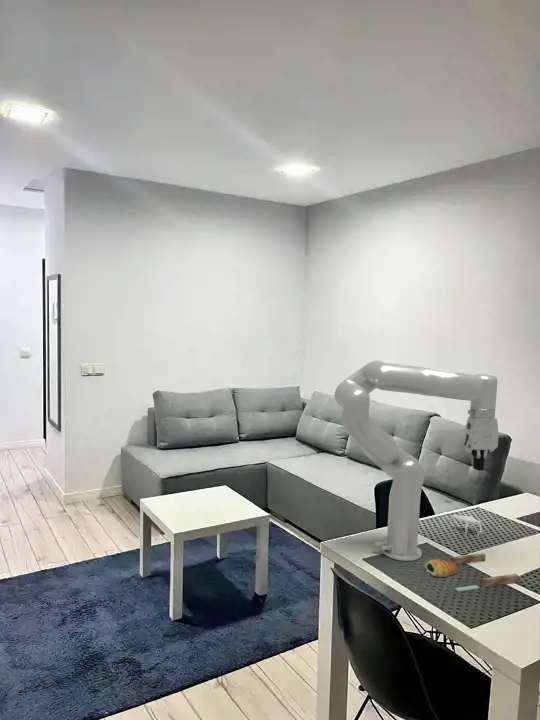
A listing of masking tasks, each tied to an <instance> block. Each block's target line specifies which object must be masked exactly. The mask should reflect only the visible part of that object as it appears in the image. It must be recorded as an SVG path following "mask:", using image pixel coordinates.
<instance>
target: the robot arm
mask: <svg viewBox="0 0 540 720" xmlns="http://www.w3.org/2000/svg"><path fill="white" fill-rule="evenodd" d="M375 389H378V390H381V391H388V392H396V393H406V394H412V395H421V396H427V397H436V398H437V397H438V398H443V399H444V398H445V399H452V400H459V401H469V402H470V407H469V409H468V410H467V414H468V415H469V416H468V417H467V420H466V424H465V429H464V437H463V445H464V452H466V453H469V454H471V456H472V457H473V459H472V460H473V462H472V468H473V469H474V470H475V471H479V472H480V471H481V472H482V471H484V470H485V459H486V458H487V457H488V455H489V453H492V452H494V451H496V450H495V449H497V448H498V446H499V426H498V425H499V424H498V419H497V418H496V407H497V406H496V405H497V391H498V378H497V377H496V376H495V375H493V374H482V373H480V374H479V373H478V374H468V373H462V372H455V373H450V372H449V373H448V372H443V371H439V370H435V369H432V368H428V367H427V368H426V367H422V366H414V365H404V364H396V363H388V362H384V361H381V360H373V361H370V362H368V363H366V364H365V365H363V366H362V367H360V368H359V369H358V370H356V371H355V372H354V373H352V374H351V375H350V376H348V377H346V378H345V379H344V380H343V381H341V382H340V383H339V384H338V385H337V386H336V388H335V389H334V390H335V391H334V399H335V402H336V404H338V405H339V406H340V407H341V408H342V412H341V413H342V414H341V418H342V419H341V420H342V424H343V428H344V430H345V432H346V433H347V434H348V435H349V436H350V438H352V439H353V441H355V443H357V445H359V448H360V449H361V452H363V454H364V455H366V457H367V458H369V459H370V460H371V461H372V462H373V464H375V465H376V466H377V467H378V468H380V470H382V471H383V472H384V473H385V474H386V475H388V476H389V477H390V478H391V479H392V483H391V487H390V490H389V491H390V492H389V496H388V513H387V515H388V516H387V533H386V536H383V540H381V541H373V542H372V547H373V549H379V548H380V550H381V553H382V554H383V555H385V556H386V557H387V558H389V559H393V560H397V561H402V562H412V561H416V560H419V559H420V558H422V554H423V551H422V550H421V548H420V547H418V540H419V538H418V537H419V523H420V521H419V520H420V507H421V493H422V488H423V485H424V480H425V468H424V466H423V465H422V463H421V462H420V461H419V459H417V458H415V456H413V455H411V454H409V453H408V452H406V451H405V450H403V449H402V448H401V447H400V446H399V445H398V444H397V442H396V440H395V439H394V437H392V436H391V434H389V433H387V432H386V431H385V430H384V429H383V428H381V426H379V425H378V424H377V423H376V422H375V421H374V419H373V418H372V417H371V416H370V405H371V397H370V393H371V392H373V391H374V390H375Z"/></svg>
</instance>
